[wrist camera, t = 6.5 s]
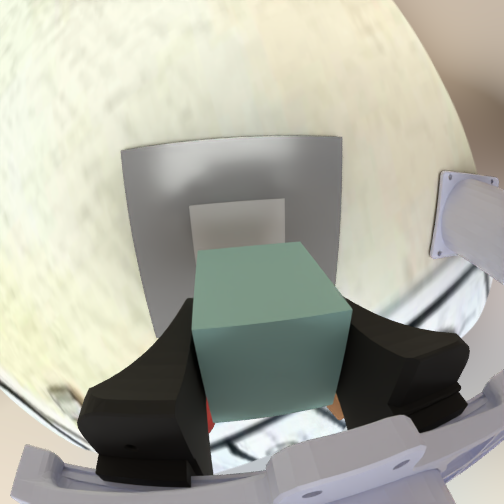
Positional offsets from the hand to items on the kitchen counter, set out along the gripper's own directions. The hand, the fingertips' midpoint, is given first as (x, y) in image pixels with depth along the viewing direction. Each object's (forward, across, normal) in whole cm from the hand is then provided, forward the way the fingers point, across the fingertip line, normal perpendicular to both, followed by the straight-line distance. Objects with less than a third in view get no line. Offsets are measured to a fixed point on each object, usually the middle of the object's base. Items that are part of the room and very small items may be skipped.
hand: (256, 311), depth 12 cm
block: (+2, 0, 0) cm, 2 cm away
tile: (+9, 0, 0) cm, 9 cm away
